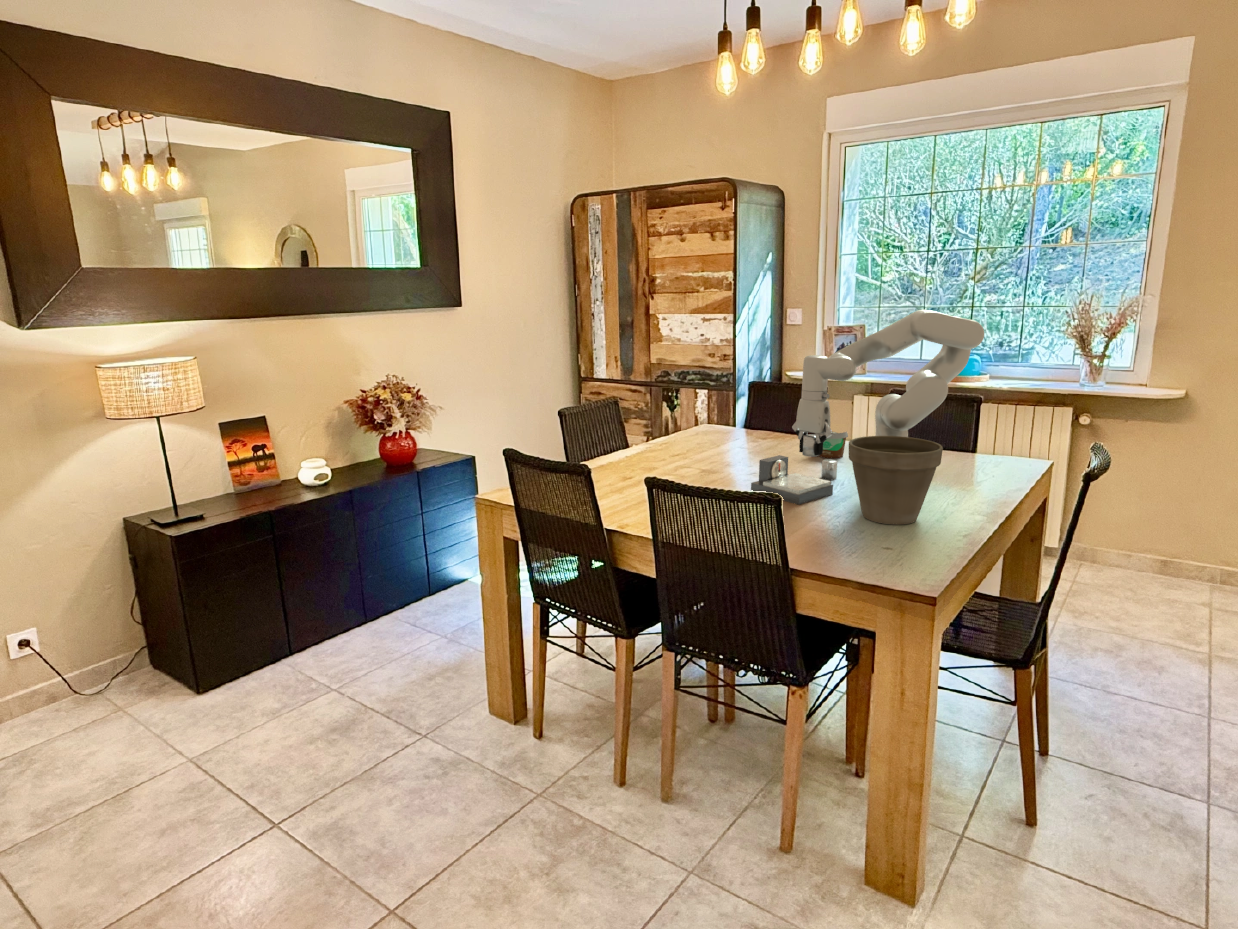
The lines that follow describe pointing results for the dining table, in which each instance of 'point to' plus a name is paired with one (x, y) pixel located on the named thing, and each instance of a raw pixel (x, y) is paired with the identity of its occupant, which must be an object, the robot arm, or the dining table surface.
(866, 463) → the plant pot
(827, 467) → the steel spacer
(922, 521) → the dining table surface
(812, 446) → the cylinder
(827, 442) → the food container
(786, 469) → the dial scale
